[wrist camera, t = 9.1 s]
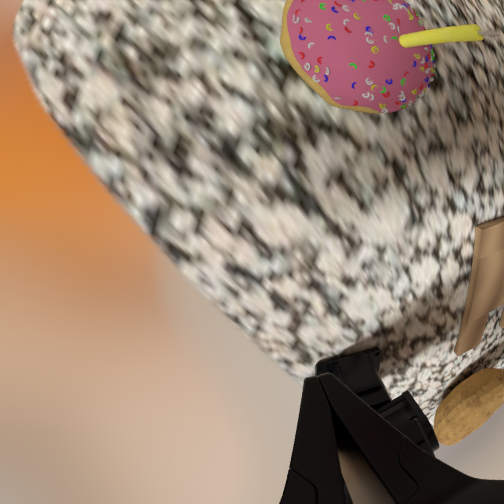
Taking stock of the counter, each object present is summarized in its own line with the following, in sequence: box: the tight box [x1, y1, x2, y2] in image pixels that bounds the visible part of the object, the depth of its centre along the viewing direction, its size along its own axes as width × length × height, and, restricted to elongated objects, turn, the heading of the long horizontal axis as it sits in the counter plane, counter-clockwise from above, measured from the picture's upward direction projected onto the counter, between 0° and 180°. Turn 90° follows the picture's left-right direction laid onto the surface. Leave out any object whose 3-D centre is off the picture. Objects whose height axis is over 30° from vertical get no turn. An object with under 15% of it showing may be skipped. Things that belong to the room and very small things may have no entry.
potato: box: [434, 368, 504, 445], centre depth 26 cm, size 10×14×8 cm
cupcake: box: [280, 0, 499, 113], centre depth 9 cm, size 9×8×12 cm
